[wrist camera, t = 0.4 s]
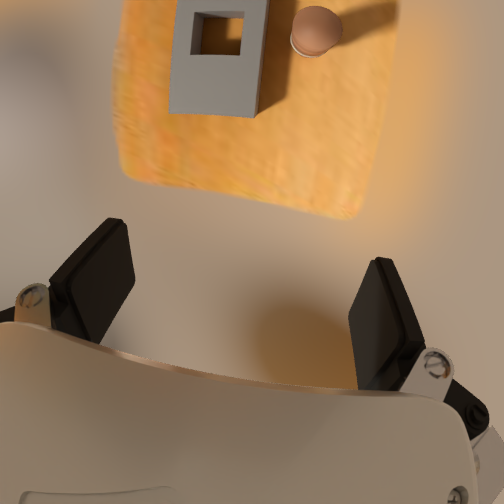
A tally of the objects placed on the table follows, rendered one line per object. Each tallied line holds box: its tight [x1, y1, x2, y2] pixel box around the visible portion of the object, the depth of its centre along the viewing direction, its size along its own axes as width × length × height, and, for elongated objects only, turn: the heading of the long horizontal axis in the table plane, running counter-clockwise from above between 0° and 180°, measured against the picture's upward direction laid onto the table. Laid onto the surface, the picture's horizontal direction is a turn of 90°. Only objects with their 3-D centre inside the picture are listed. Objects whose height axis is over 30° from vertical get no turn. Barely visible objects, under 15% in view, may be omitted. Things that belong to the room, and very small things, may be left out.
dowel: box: [290, 6, 343, 58], centre depth 22 cm, size 4×4×12 cm
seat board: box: [169, 0, 270, 118], centre depth 25 cm, size 20×10×4 cm, turn 175°
